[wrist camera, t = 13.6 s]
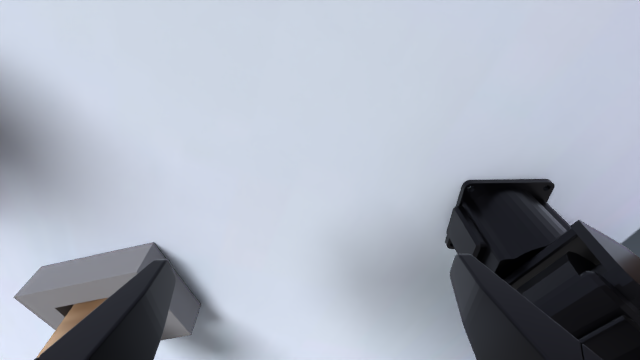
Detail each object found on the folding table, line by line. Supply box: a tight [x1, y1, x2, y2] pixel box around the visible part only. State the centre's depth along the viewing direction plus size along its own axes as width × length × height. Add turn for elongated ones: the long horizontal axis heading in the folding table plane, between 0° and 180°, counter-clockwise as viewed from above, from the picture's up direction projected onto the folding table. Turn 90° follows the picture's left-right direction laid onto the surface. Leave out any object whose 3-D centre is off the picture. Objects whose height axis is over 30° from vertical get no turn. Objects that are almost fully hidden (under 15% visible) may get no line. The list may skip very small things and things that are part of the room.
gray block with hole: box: [14, 242, 201, 340], centre depth 27 cm, size 10×8×3 cm
